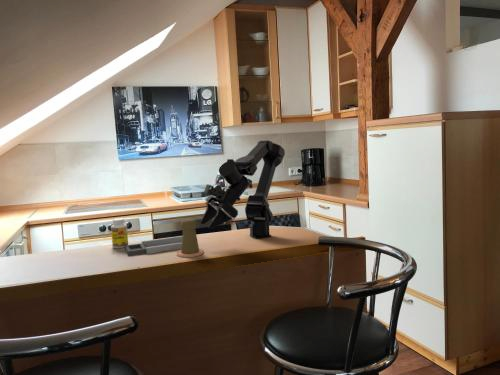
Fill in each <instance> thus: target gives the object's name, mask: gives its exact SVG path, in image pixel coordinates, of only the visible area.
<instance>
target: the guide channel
mask: <svg viewBox="0 0 500 375" xmlns="http://www.w3.org/2000/svg"><path fill="white" fill-rule="evenodd" d="M182 236H183V235H179V236H172V237H171V236H170V237H163V238H157V239H156V238H155V239H148V240H141V243H142V244H143V245H144V246H145V248H146V252H147V253H146V255H147V254H155V253H163V252H169V250H170V251H176V250H177V251H178V250H182ZM162 251H163V252H162Z"/></svg>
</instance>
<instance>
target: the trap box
mask: <svg viewBox="0 0 500 375" xmlns="http://www.w3.org/2000/svg"><path fill="white" fill-rule="evenodd" d="M124 249H125V252H126V254H127V256H129V257H130V256H135V255H143V254H147V252H146V247H145V246H144V245H143V244H142V242H140V243H135V244H128V245H125V247H124Z"/></svg>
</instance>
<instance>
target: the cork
mask: <svg viewBox="0 0 500 375" xmlns="http://www.w3.org/2000/svg"><path fill="white" fill-rule="evenodd" d="M180 227H181V228H180V229H182V235H181V236H182V249H180V250H181V253H183V254H194V253H198V252H199V249H200V248H199V247H200V246H199V240H198V236H197V232H196V228H197V220H196V219H194V218H185V219H183V220H181V222H180Z"/></svg>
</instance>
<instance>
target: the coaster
mask: <svg viewBox="0 0 500 375" xmlns="http://www.w3.org/2000/svg"><path fill="white" fill-rule="evenodd" d="M181 250H182V249H178V250H177V251H176V256H177V257H180V258H193V257H194V258H195V257H198V256H202V255H203V254H204V253H205V252H204V249H202V248H199V252H198V253H194V254H183V253H181Z"/></svg>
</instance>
